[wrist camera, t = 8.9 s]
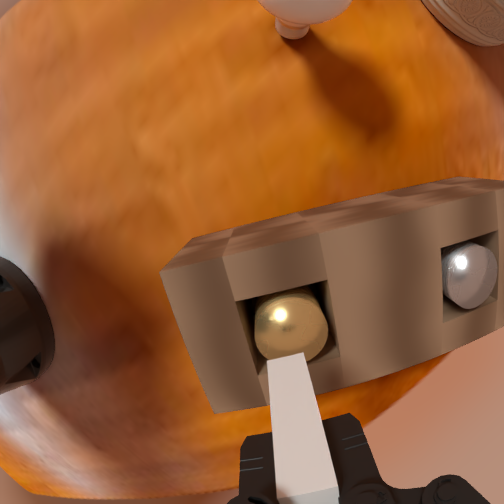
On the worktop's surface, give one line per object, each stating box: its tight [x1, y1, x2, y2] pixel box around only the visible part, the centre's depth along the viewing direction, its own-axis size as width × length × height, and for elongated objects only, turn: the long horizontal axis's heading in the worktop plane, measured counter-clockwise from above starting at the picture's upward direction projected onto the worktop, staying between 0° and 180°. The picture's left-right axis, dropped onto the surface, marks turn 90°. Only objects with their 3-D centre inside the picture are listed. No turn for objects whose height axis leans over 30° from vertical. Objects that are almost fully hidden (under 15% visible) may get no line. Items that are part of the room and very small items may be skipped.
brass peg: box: [252, 283, 328, 361], centre depth 21 cm, size 4×4×8 cm
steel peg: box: [440, 240, 498, 309], centre depth 20 cm, size 4×4×8 cm
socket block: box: [159, 177, 504, 414], centre depth 21 cm, size 24×10×9 cm, turn 104°
